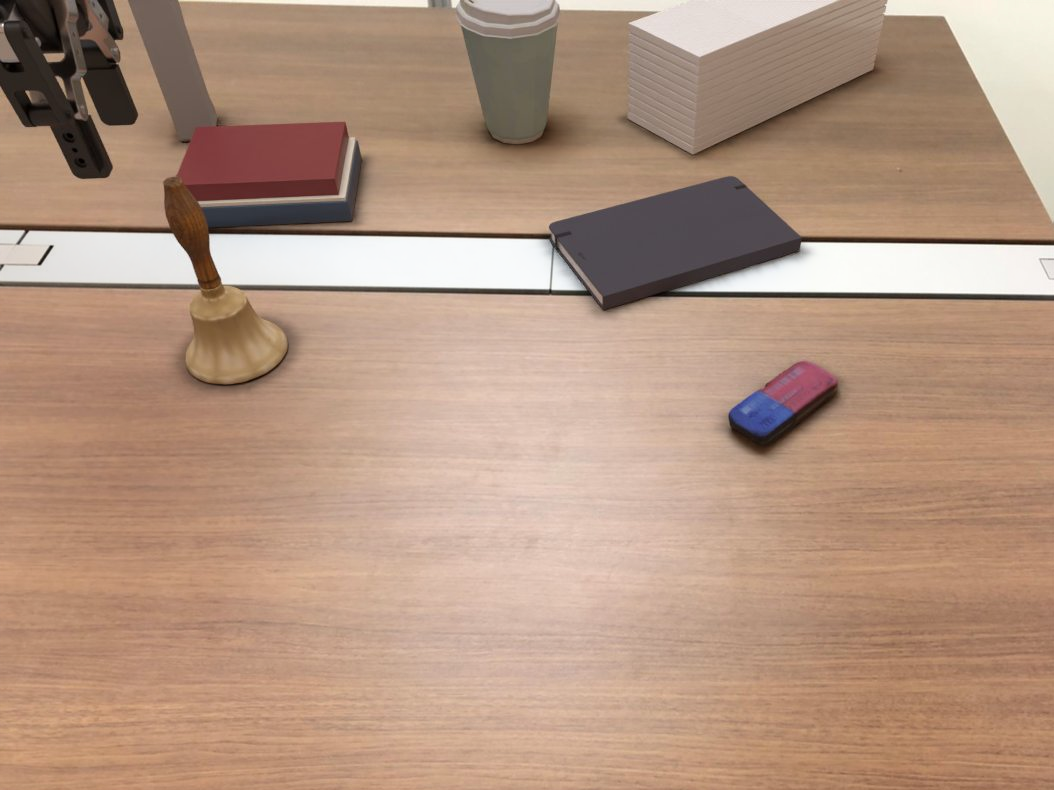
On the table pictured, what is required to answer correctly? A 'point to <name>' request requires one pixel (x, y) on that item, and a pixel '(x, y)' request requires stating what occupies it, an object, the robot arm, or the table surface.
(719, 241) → the notebook
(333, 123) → the book stack
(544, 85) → the disposable coffee cup
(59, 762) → the table surface
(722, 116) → the stack of papers
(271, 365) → the hand bell
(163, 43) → the tall grey plank
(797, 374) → the eraser
